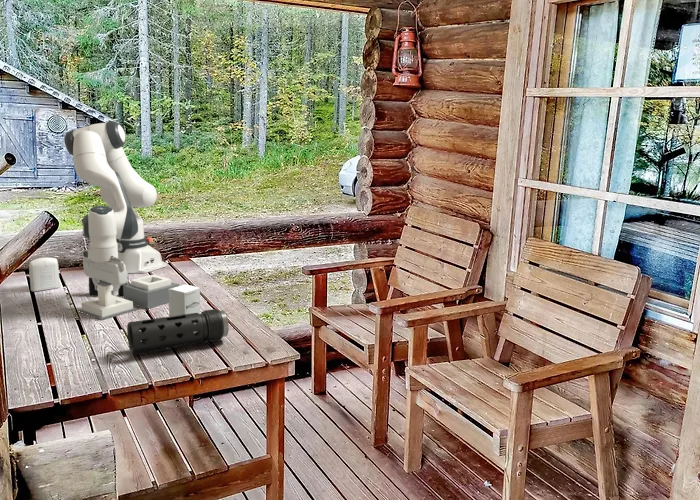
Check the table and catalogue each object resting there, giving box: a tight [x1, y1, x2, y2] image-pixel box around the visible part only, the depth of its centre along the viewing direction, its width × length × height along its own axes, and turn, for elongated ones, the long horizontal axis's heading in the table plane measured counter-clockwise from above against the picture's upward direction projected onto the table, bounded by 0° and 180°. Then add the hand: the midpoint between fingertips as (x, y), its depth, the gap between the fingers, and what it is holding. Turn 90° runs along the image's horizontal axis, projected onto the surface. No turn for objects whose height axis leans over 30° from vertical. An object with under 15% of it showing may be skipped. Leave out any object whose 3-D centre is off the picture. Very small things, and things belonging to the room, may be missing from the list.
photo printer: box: [28, 257, 60, 292], centre depth 227 cm, size 10×4×12 cm, turn 134°
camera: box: [88, 270, 130, 297], centre depth 224 cm, size 14×9×10 cm, turn 89°
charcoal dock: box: [123, 274, 180, 310], centre depth 218 cm, size 14×14×8 cm
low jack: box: [77, 296, 138, 321], centre depth 206 cm, size 14×14×3 cm
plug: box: [97, 281, 116, 307], centre depth 205 cm, size 4×4×10 cm
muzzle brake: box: [126, 308, 230, 356], centre depth 176 cm, size 10×28×10 cm, turn 121°
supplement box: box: [168, 283, 201, 317], centre depth 195 cm, size 7×7×13 cm
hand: (106, 292), depth 205 cm, fingers open, 8 cm apart
